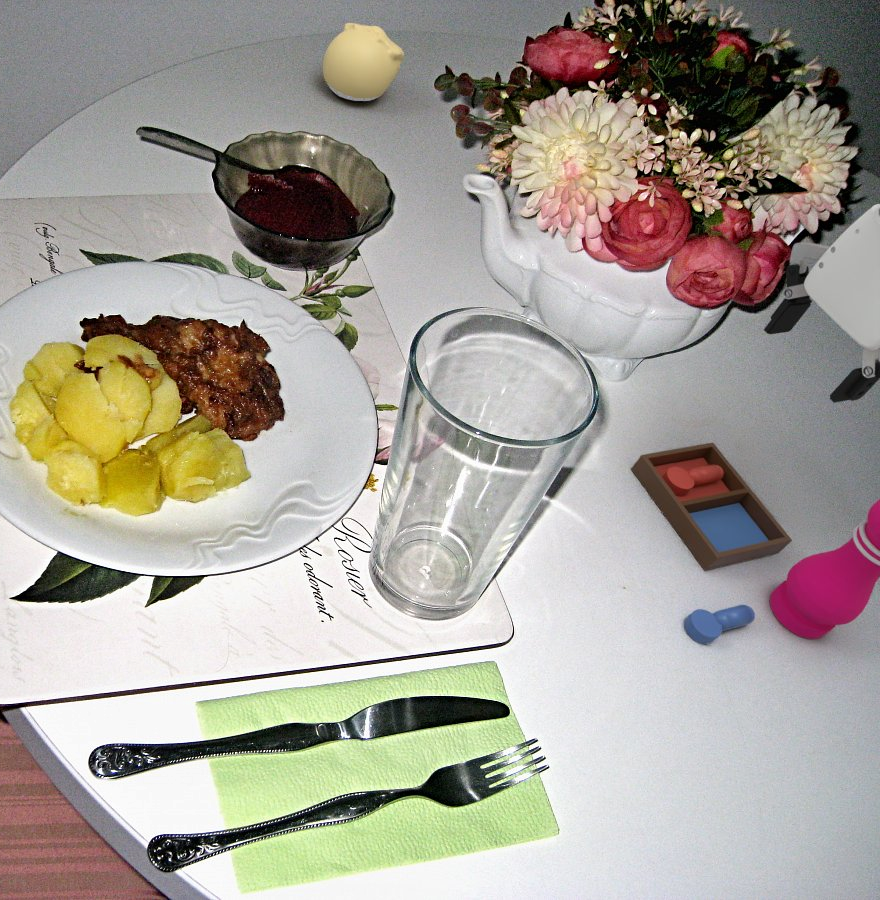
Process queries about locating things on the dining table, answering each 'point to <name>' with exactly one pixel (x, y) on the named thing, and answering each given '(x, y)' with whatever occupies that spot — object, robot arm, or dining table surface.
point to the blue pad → (728, 527)
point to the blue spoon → (716, 622)
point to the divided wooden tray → (689, 527)
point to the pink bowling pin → (831, 583)
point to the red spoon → (691, 477)
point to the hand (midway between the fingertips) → (807, 363)
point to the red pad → (704, 490)
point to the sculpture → (361, 61)
